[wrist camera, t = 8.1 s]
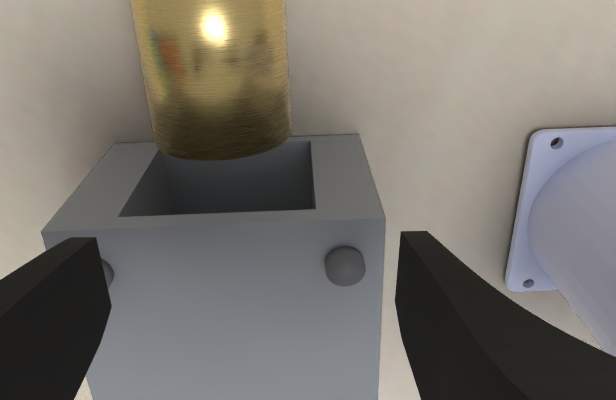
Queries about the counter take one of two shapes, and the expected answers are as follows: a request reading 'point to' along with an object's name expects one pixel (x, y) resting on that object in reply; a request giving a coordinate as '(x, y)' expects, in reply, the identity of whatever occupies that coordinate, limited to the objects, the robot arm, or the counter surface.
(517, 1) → the counter surface
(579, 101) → the counter surface
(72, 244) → the robot arm
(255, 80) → the brass fitting
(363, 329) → the plate
